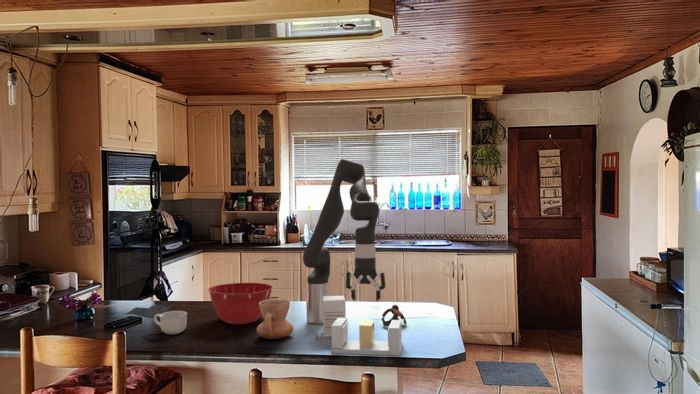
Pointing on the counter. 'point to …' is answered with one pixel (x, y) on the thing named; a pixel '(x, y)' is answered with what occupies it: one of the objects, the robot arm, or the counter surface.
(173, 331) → the teacup
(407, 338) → the counter surface
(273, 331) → the ceramic jug
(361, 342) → the block
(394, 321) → the vise
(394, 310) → the dark brown curved loop
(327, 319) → the supplement box
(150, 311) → the dark slate chunk
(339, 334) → the jaw
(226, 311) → the mixing bowl
